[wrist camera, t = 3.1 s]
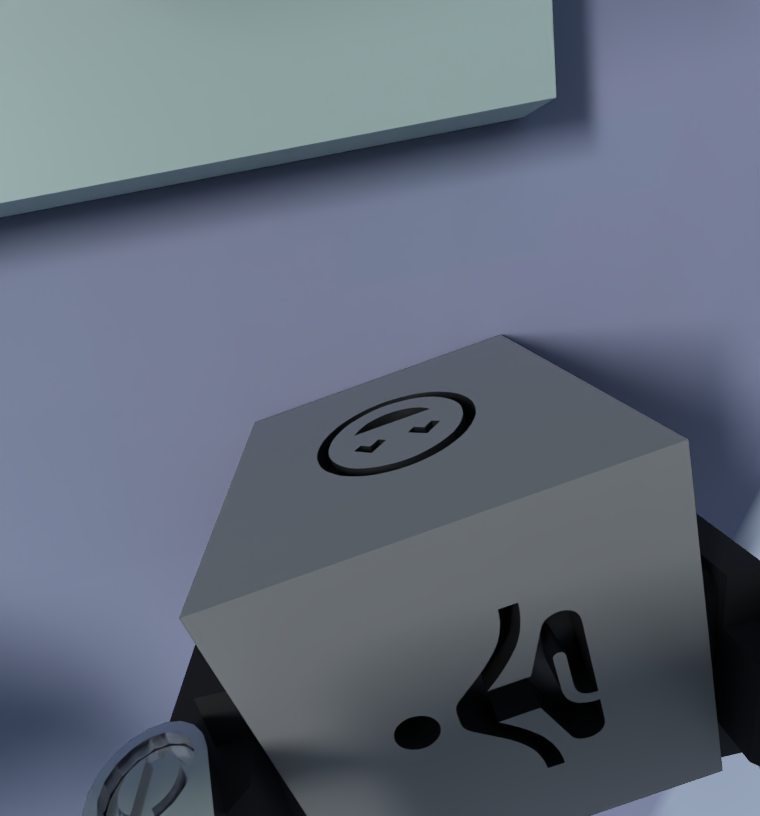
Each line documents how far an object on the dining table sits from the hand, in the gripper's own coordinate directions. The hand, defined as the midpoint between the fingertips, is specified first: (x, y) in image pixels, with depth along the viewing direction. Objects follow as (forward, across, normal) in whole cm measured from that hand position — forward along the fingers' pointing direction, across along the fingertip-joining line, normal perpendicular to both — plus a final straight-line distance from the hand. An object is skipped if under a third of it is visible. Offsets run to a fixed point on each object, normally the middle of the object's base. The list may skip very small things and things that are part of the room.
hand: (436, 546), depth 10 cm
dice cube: (+1, 0, -1) cm, 1 cm away
